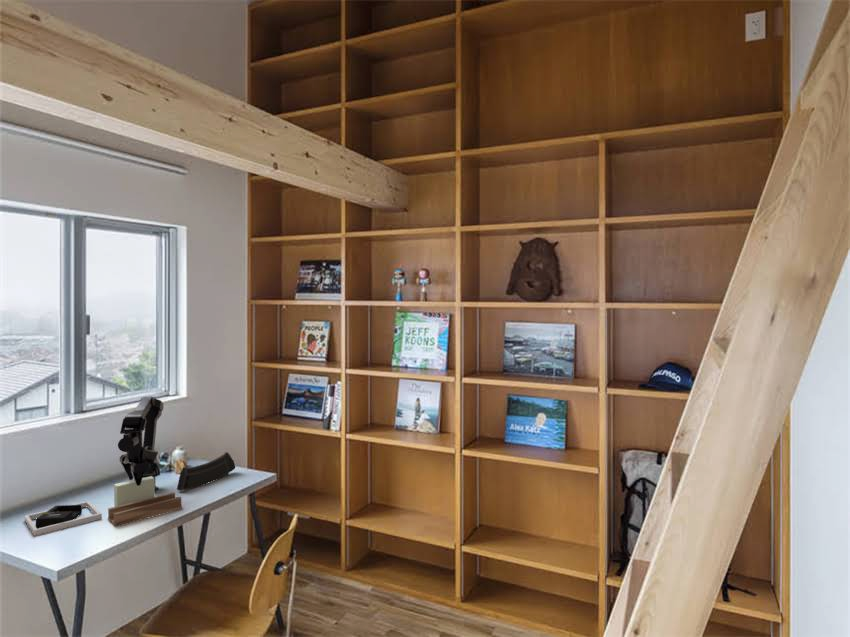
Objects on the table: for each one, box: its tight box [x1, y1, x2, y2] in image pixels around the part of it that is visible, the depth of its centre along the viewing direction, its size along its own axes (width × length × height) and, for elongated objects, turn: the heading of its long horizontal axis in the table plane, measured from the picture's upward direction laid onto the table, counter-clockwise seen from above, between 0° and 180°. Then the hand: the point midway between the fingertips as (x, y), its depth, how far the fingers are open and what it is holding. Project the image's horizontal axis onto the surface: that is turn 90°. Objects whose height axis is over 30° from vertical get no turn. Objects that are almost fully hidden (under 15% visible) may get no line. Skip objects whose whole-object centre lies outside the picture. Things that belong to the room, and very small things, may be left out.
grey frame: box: [24, 500, 103, 537], centre depth 199 cm, size 18×21×2 cm
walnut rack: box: [107, 492, 183, 527], centre depth 205 cm, size 9×24×4 cm, turn 136°
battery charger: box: [34, 504, 83, 528], centre depth 198 cm, size 13×10×4 cm
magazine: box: [176, 451, 236, 492], centre depth 241 cm, size 17×3×30 cm
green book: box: [113, 476, 156, 507], centre depth 214 cm, size 4×14×10 cm, turn 136°
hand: (134, 482), depth 214 cm, fingers open, 9 cm apart
